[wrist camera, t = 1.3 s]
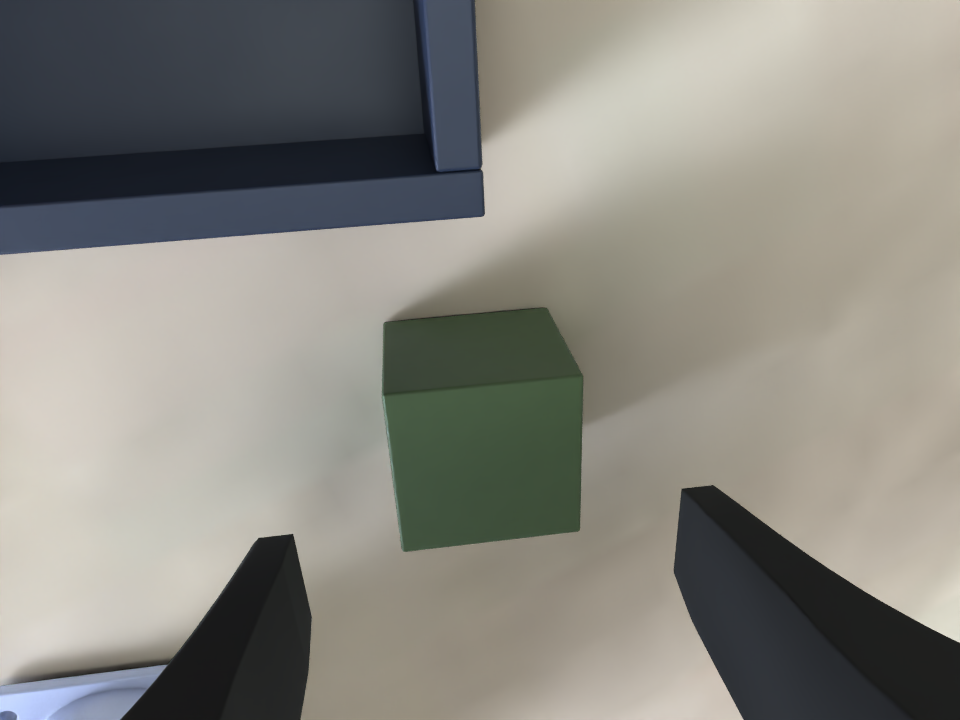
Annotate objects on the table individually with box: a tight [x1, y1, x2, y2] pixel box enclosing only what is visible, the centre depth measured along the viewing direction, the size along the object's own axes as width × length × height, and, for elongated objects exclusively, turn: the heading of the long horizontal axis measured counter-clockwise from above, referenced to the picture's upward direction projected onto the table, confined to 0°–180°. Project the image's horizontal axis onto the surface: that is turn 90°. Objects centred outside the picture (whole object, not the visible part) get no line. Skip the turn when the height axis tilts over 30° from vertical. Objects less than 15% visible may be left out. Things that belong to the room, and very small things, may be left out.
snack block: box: [382, 308, 583, 552], centre depth 18 cm, size 4×4×4 cm
